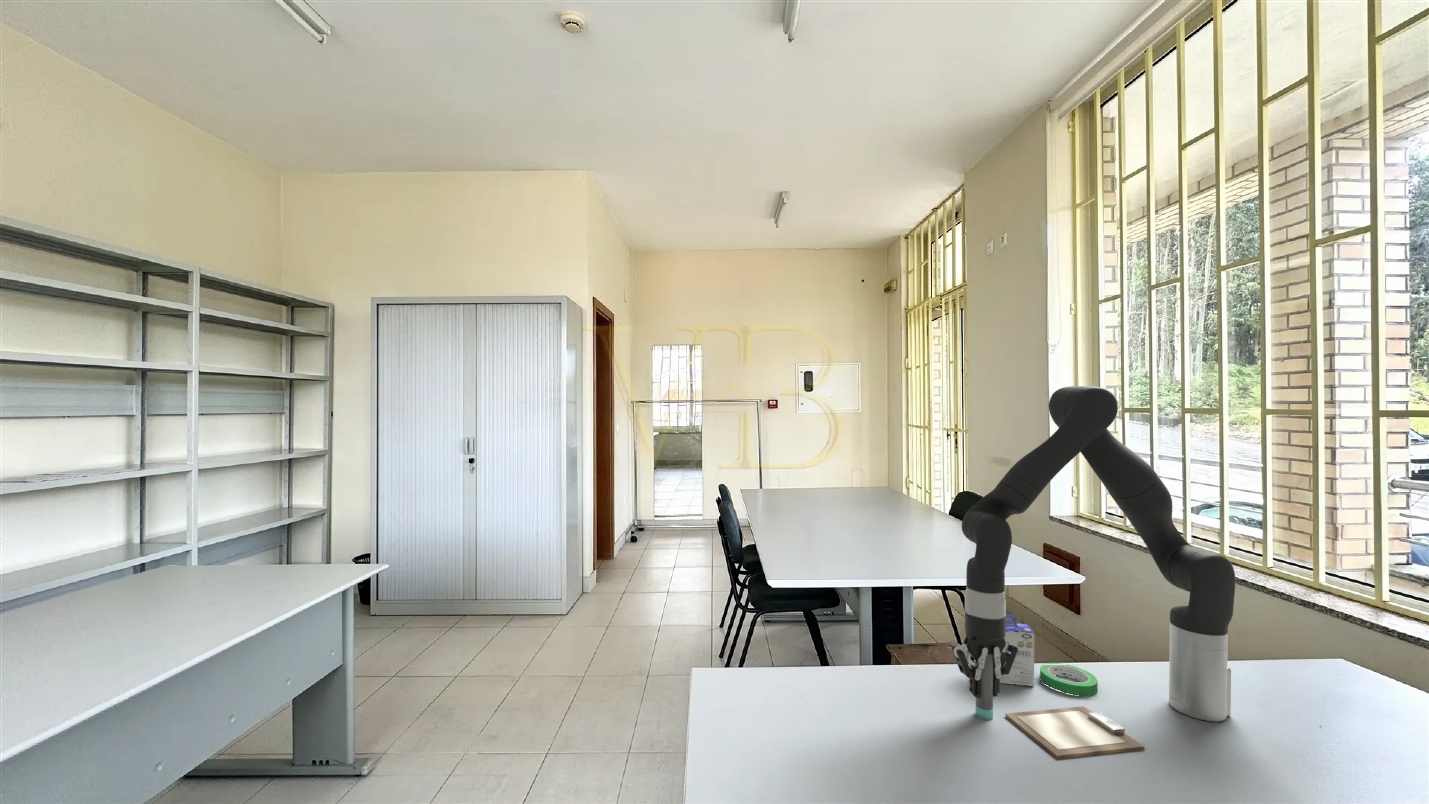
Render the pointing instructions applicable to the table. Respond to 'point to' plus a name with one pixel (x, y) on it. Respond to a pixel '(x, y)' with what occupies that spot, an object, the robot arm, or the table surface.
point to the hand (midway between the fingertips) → (984, 695)
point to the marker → (986, 691)
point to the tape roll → (1082, 688)
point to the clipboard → (1074, 732)
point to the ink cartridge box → (1020, 653)
